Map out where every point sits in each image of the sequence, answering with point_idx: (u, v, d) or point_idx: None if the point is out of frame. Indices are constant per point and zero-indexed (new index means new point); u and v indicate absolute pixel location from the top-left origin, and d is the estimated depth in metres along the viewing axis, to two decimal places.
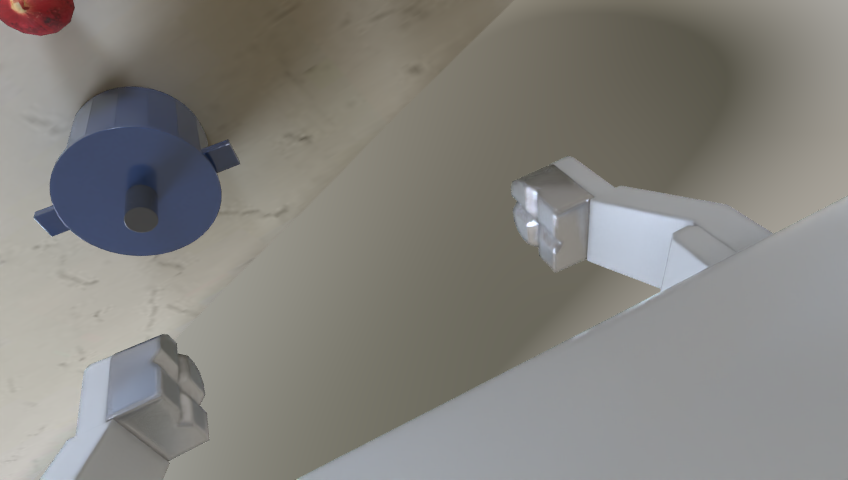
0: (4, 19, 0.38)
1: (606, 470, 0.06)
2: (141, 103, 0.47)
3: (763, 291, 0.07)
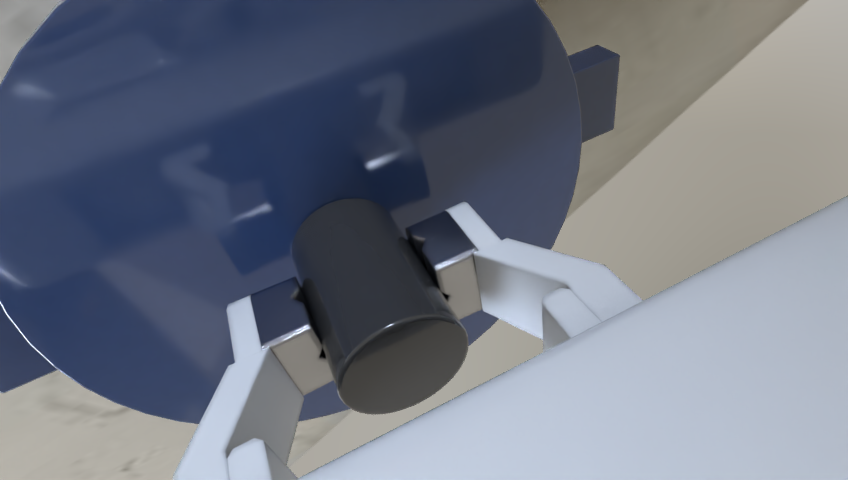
0: None
1: (606, 469, 0.06)
2: None
3: (763, 291, 0.07)
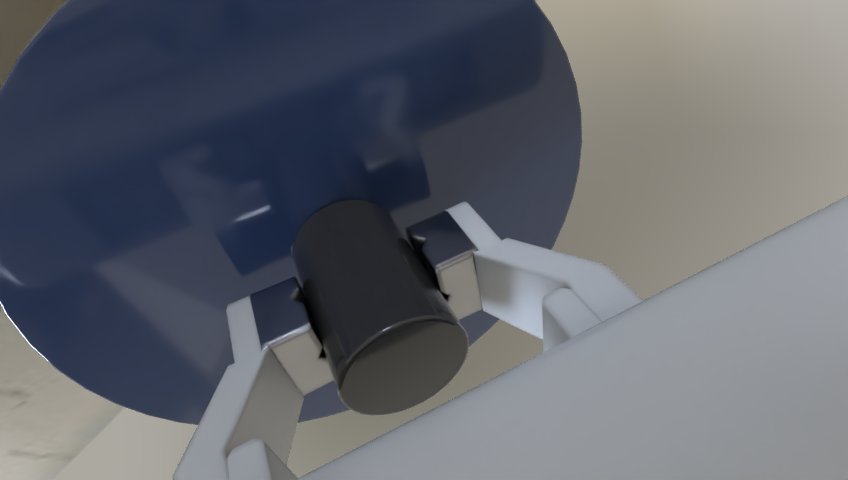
0: None
1: (606, 470, 0.06)
2: None
3: (763, 291, 0.07)
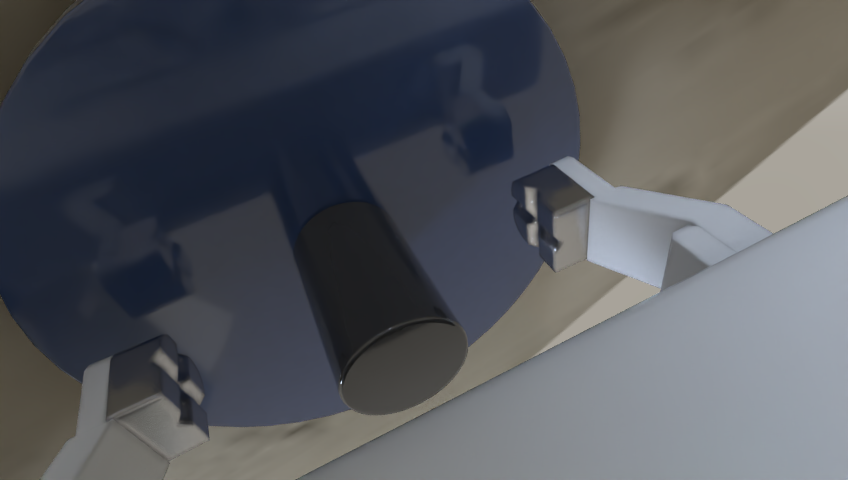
0: None
1: (606, 470, 0.06)
2: None
3: (763, 291, 0.07)
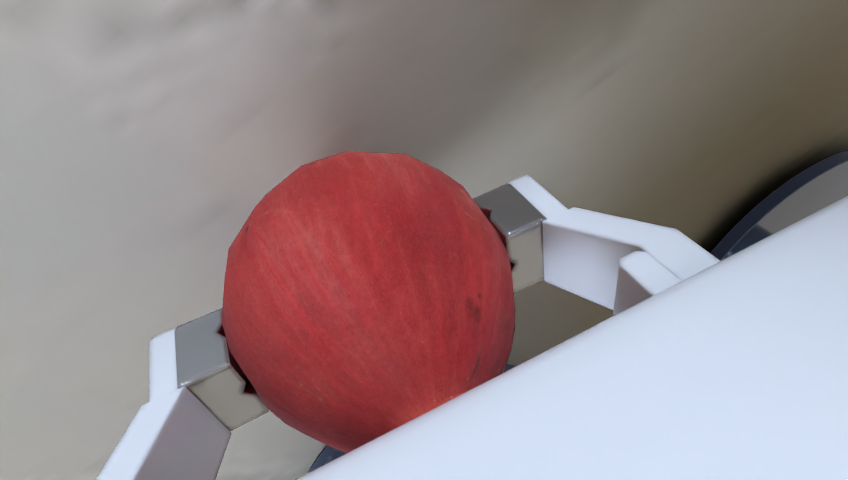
0: None
1: (606, 470, 0.06)
2: None
3: (763, 291, 0.07)
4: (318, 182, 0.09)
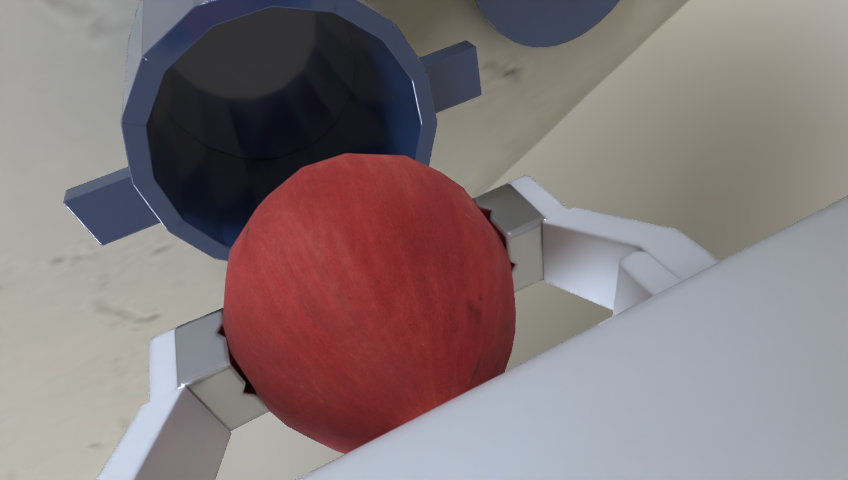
0: (320, 442, 0.09)
1: (606, 470, 0.06)
2: None
3: (763, 291, 0.07)
4: (319, 184, 0.09)
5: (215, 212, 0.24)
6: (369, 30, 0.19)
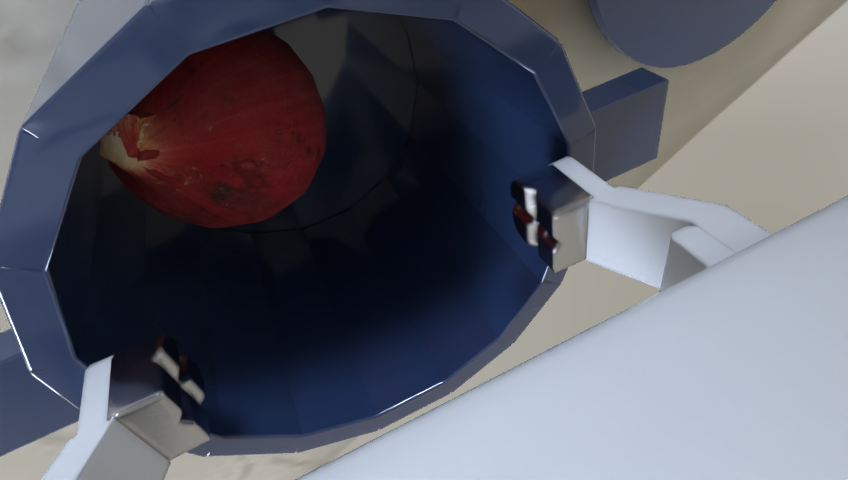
0: None
1: (606, 469, 0.06)
2: None
3: (763, 291, 0.07)
4: None
5: (205, 356, 0.14)
6: (514, 56, 0.09)
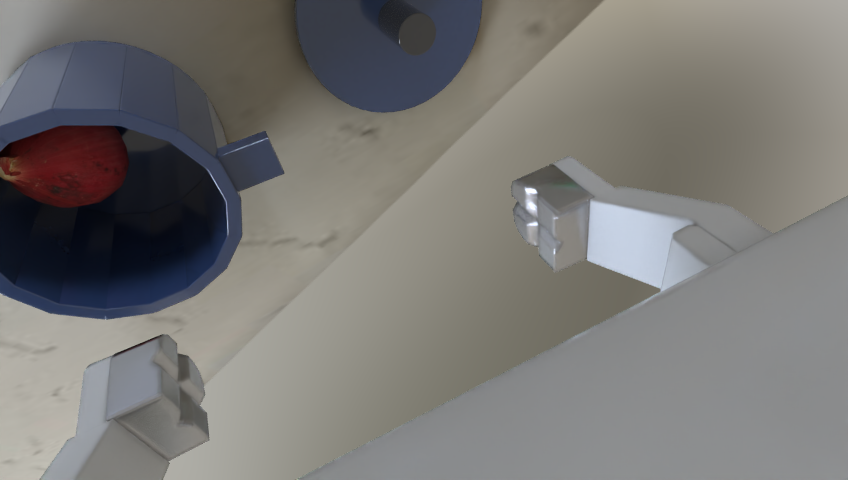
0: None
1: (606, 469, 0.06)
2: (112, 66, 0.26)
3: (763, 291, 0.07)
4: None
5: (60, 271, 0.28)
6: (155, 135, 0.24)
